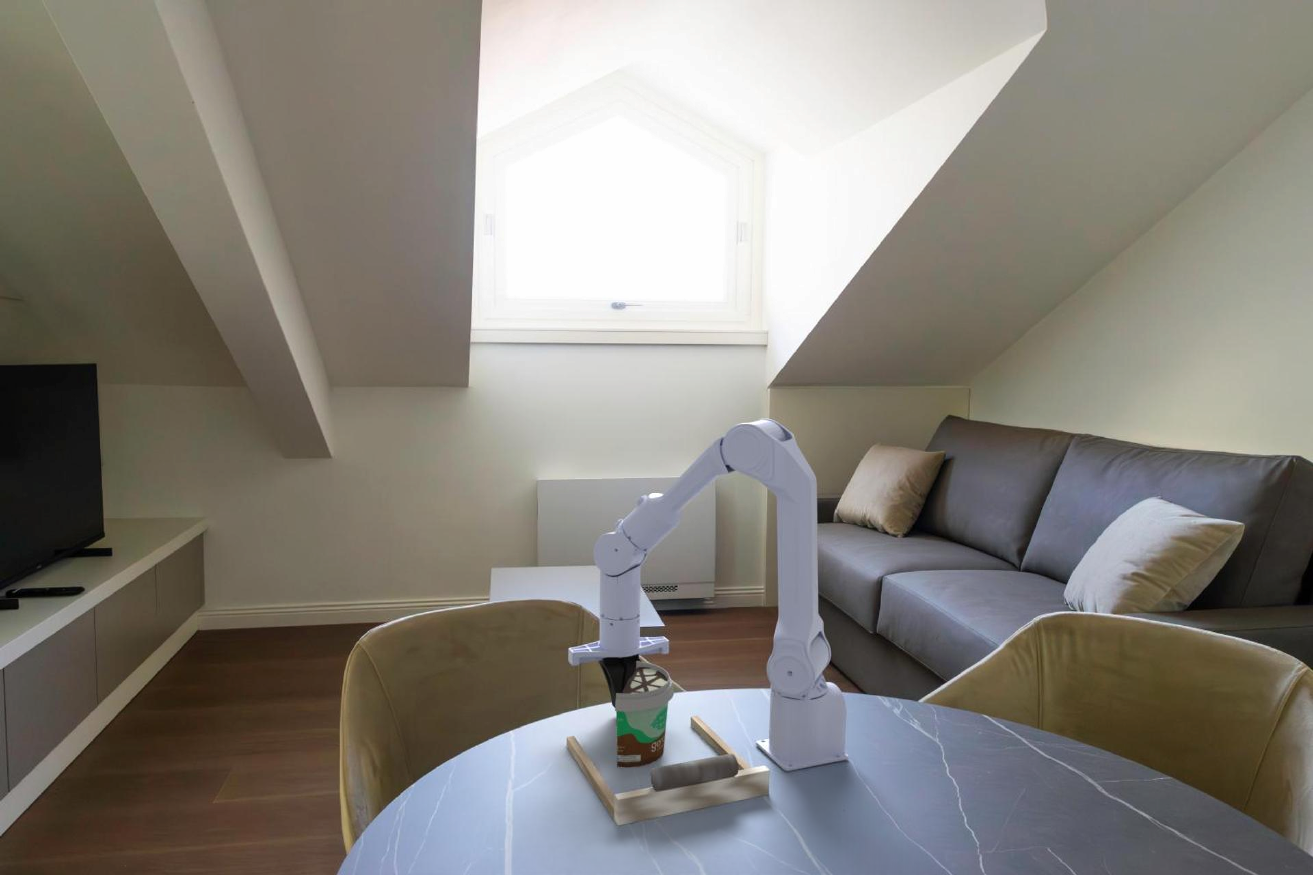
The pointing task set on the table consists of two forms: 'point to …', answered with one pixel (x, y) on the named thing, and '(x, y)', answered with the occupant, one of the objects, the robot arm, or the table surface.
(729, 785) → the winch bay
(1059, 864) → the table surface
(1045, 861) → the table surface
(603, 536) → the robot arm
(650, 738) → the food container
